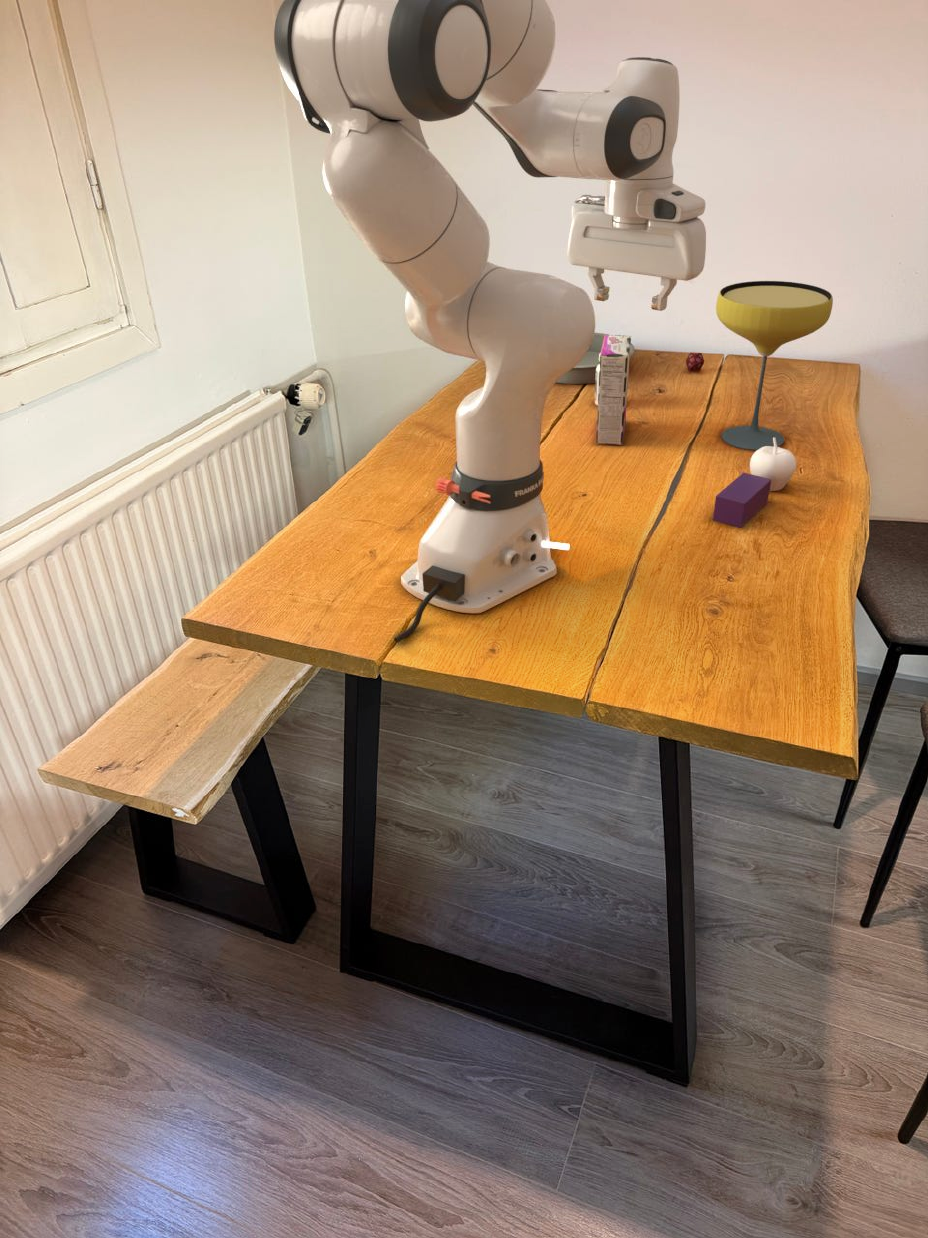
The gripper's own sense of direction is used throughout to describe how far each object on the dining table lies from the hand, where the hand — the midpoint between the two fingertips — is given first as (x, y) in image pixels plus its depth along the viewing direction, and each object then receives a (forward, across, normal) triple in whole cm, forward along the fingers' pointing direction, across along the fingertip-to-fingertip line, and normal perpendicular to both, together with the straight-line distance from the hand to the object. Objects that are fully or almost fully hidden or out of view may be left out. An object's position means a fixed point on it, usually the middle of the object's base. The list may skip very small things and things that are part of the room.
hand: (629, 304), depth 127 cm
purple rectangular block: (+29, +20, +4) cm, 35 cm away
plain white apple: (+29, +20, +15) cm, 38 cm away
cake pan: (+28, -38, +47) cm, 67 cm away
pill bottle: (+28, -21, +32) cm, 48 cm away
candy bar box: (+29, -12, +19) cm, 37 cm away
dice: (+28, -16, +59) cm, 67 cm away
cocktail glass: (+28, +9, +32) cm, 44 cm away
